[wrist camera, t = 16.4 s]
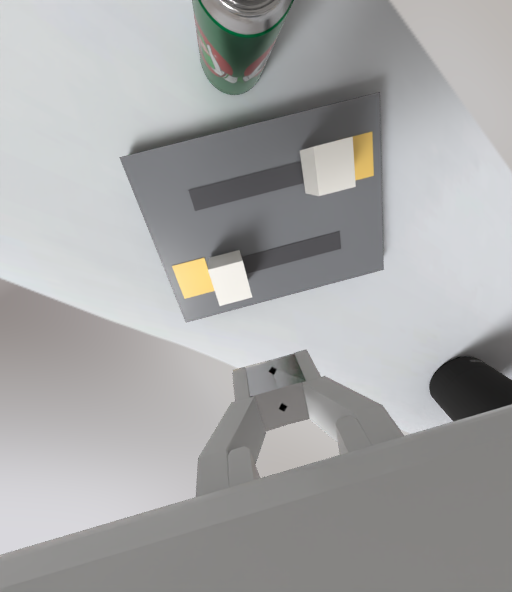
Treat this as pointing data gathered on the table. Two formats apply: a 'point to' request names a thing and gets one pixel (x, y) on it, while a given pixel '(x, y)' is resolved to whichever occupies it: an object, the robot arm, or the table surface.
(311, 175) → the block
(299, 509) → the robot arm
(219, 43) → the soda can
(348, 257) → the switch panel
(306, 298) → the table surface
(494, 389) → the pen holder
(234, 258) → the block
